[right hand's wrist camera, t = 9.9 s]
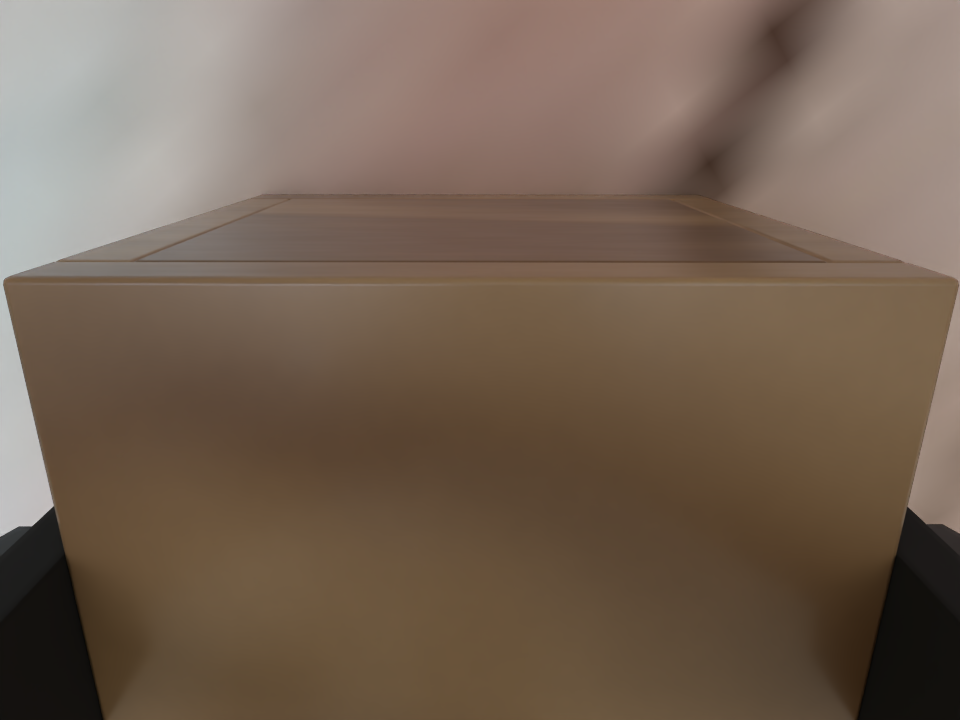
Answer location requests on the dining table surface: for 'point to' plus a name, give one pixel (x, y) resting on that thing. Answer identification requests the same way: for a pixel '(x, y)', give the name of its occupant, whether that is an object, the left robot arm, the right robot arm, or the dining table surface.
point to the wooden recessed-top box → (480, 457)
